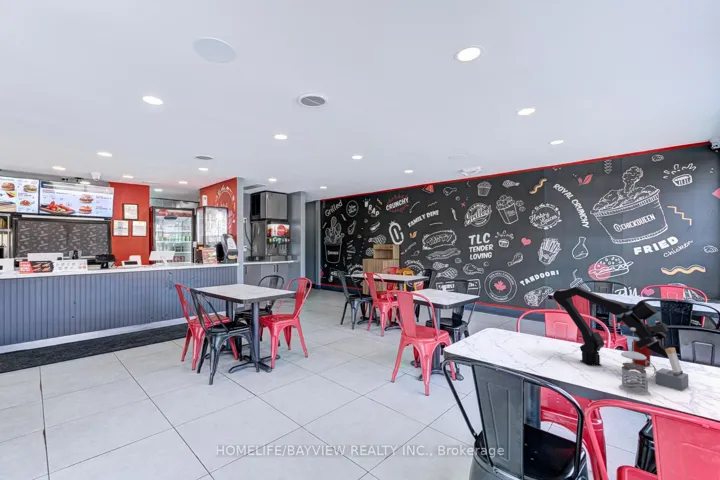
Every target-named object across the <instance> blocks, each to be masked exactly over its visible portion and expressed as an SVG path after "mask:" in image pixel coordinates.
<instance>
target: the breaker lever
mask: <svg viewBox="0 0 720 480" xmlns="http://www.w3.org/2000/svg"><path fill="white" fill-rule="evenodd" d="M665 351H666V354H667V355H668V358H667V359H668V360H669V364H670V367H671V370H673V372H675V373H677V374H680V373H681V372H682V371H683V370H682V367H681V363H680V361H679V357H678V354H677V351H676V347H668V348H666V349H665Z"/></svg>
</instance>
